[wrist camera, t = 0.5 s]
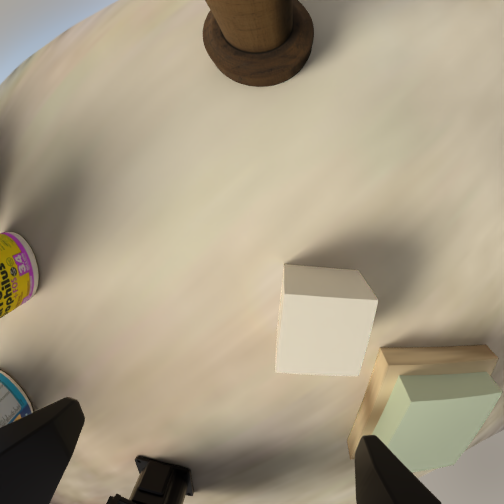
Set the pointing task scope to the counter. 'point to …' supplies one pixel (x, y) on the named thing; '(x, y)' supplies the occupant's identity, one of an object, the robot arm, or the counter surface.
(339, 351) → the cube
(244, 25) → the wooden chess piece
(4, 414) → the beverage bottle
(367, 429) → the tower base
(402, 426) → the tower top
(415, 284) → the counter surface
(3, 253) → the supplement bottle
